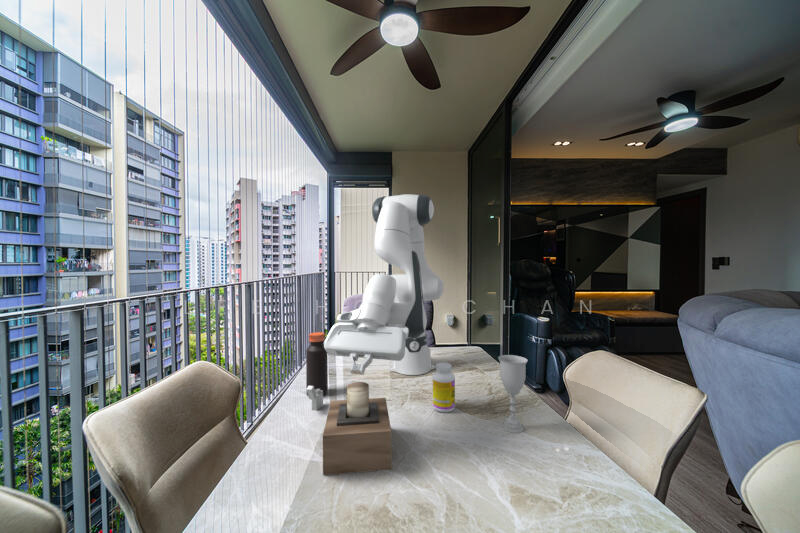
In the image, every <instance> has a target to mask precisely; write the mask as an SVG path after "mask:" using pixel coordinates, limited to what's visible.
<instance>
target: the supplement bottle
mask: <svg viewBox="0 0 800 533" xmlns="http://www.w3.org/2000/svg"><path fill="white" fill-rule="evenodd" d="M452 367H453V366H452V364H450V363H449V362H438V363H436V364H435V370H436V371H435V372H434V373H433V374H432V408H433V409H434V410H435V411H437V412H440V413H451V412H453V411H454V410H455V408H456V376H455V375H454V373H453V372H452Z"/></svg>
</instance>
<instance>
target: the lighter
mask: <svg viewBox="0 0 800 533" xmlns="http://www.w3.org/2000/svg"><path fill="white" fill-rule="evenodd" d="M305 390H306V394H307V393H308V396H307V397H308V399H309V400H311V411H313V412H314V411H315V412H317V411H318V410H319V409H320V408H321V407H322V406H324V396H323V390H320V389H316V390H315V389H314V386H308V387H307V389H305Z"/></svg>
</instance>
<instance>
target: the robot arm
mask: <svg viewBox="0 0 800 533" xmlns="http://www.w3.org/2000/svg"><path fill="white" fill-rule="evenodd" d="M432 200H433V199H432V198H431V197H430V196H429V195H427V194H421V193H420V194H412V193H411V194H406V193H405V194H399V195H398V194H397V195H390V196H380V197H378V198H376V199H375V201H374V202H373V203H372V208H371V209H372V210H371V212H372V213H371V214H372V219H373V221H374V222H375V224H376V226H375V234H374V243H373V244H374V250H375V253H376V254H377V256H378V257H379V258H380V259H381V260H382V261H384V263H385V262H386V263H388V264H389V265H391V266H393V267H396V268H398V269H400V270H402V271H403V272H404V273H394V274H388V273H376V274H374V275H372V276H371V277H370V279H369V281H368V283H367V284H366V287H365V289H364V292H363V294H362V300H361V304H360V305H359V306H358V308H357V309H354V310H351V311H348V312H343V313H340V314H338V315H337V317H336V322H337V323H334V324H333V325H332V327H331V328H330V329H329V332H328V334H327V335H326V337H325V340H324V348H325V350H326V352H327V355H329V356H336V357H347V358H349V359H350V364H351V366H350V369H349V372H350V373H351V375H359V376H360V375H362V376H363V375H365V371H366V369H367V368H368V366H370V365H371V364H372V363H373V359H375V360H382V361H383V360H385V361H390V365H389V368H388V371H389V372H395V373H397V374H400V375H404V376H405V375H407V376H420V375H424V374H427V373H429V372H430V371H431V370H436V365H434V364H433V363H432V360H431V359H432V357H431V356H432V354H431V348H430V347H429V346H428V345H427V344H428V342H427V341H428V337H427V334H426V328H427V322H428V319H427V314H426V310H425V305H424V304H425V303H424V302H429V301H435V300H440V298H441V297H442V296H443V293H444V290H445V285H444V281H443V280H442V278H441V277H440V275H438V274H436V273H435V272H434V271H433V270H432V269H431V268H430V266H429V265H428V262H427V260H426V253H425V236H424V234H425V233H424V227H425V226H426V225H428V224H429V223H430V222H431V221H432V219H433V216H434V214H435V213H434V212H435V208H434V207H435V206H434V204H433V201H432ZM359 358H360V359H361V358H362V359H364V360H363V361H362V363H361V364H358V363H356V362H358V360H359Z"/></svg>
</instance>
